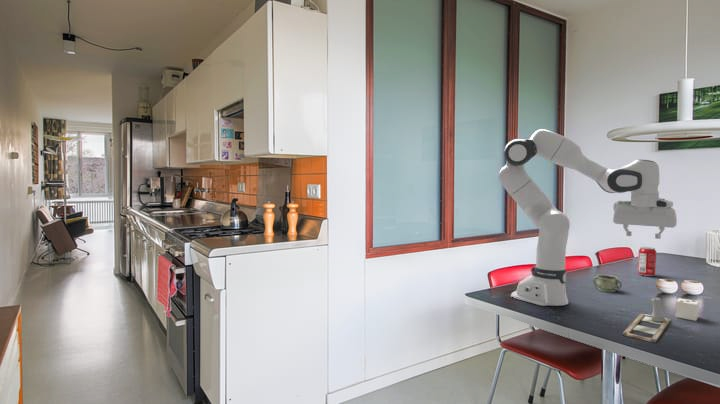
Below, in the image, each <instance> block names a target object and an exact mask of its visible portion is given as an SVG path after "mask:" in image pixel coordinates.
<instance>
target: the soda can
mask: <svg viewBox="0 0 720 404" xmlns="http://www.w3.org/2000/svg"><path fill="white" fill-rule="evenodd" d="M637 257H638V259H637V260H638V263H637V274H638V275H640V276H642V275H644V276H643V277H653V276H656V273H657V270H656V269H657V251H656V248H655V247H651V246H640V248H639V250H638V256H637Z"/></svg>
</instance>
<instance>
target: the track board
mask: <svg viewBox="0 0 720 404" xmlns="http://www.w3.org/2000/svg"><path fill="white" fill-rule="evenodd" d="M651 315H652V314H646V313H640V314H639V315H638V316H637V317H636V318H635V319H634V320H633V322H631V323H630V324H629V325H628V326H627V328H625V330H623V331H622V336H626V337H629V338H635V339H639V340H643V341H646V342H650V343H656V342H657V341H658V340H659V338H660V336H661V335H662V334H663V332H664V331H665V329H666V328H667V327H668V325H669V324H670V323H671V318H668V317H667V318H666V317H665V319H666V320H665V321H664V322H656V321H653V320H652V319H651V318H652V317H651ZM640 322H645V323H650V324H654V325H659V327H658V328H653V327H649V326H645V325H644V326H643V325H639V323H640ZM632 331H635V332H639V333H645V334H649V335H652V337H647V336H643V335H639V334H634V333H631V332H632Z"/></svg>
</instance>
